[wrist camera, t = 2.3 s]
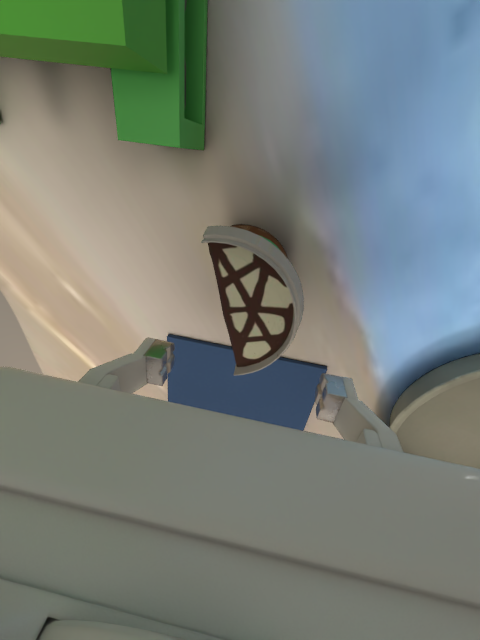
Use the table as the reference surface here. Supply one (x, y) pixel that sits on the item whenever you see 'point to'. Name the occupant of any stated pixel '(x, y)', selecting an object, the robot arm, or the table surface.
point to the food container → (255, 293)
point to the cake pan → (442, 414)
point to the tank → (125, 57)
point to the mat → (242, 384)
